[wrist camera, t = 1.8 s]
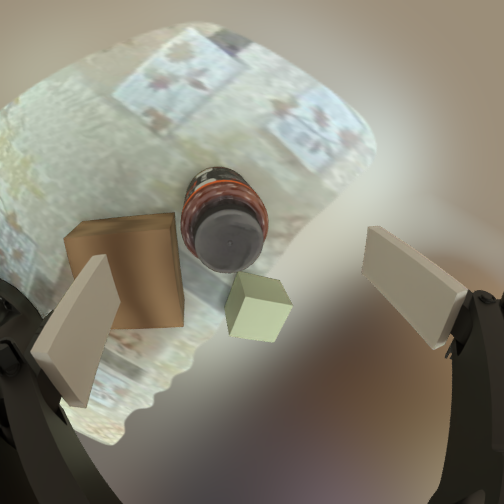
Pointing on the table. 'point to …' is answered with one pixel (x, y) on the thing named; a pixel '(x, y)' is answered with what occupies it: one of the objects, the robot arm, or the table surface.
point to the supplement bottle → (223, 220)
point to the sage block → (256, 307)
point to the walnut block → (135, 266)
